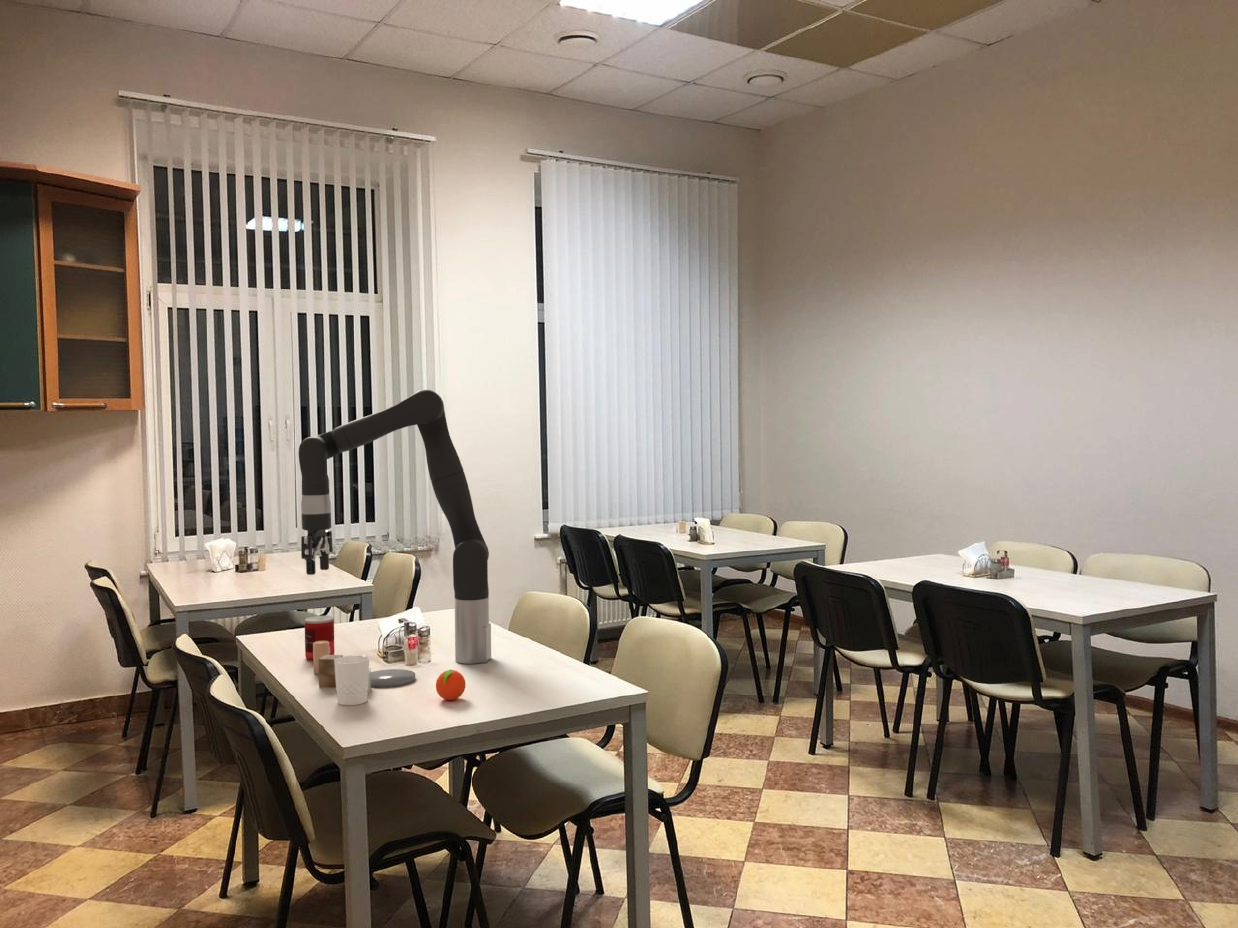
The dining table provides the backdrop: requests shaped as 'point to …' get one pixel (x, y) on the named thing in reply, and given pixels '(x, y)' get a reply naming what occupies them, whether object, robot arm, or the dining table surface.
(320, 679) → the walnut block
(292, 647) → the dining table surface
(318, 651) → the cylinder
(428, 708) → the dining table surface
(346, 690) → the white cup
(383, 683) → the slate coaster
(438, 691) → the clementine
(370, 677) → the sage cube
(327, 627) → the canned food
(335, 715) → the dining table surface
